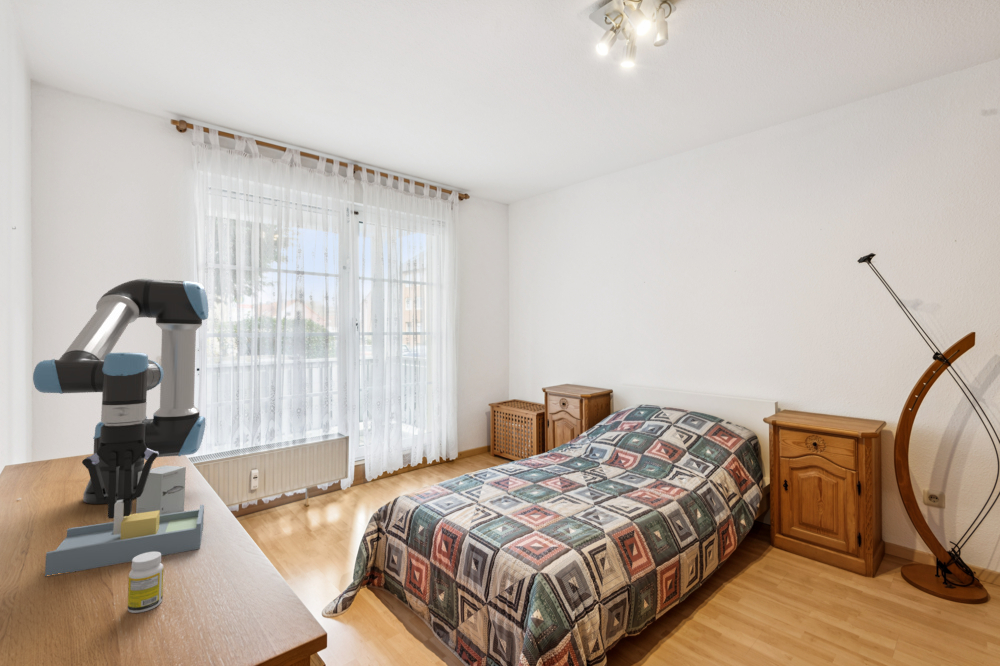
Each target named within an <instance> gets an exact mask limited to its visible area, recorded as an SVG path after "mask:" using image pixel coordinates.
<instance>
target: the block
mask: <svg viewBox="0 0 1000 666" xmlns="http://www.w3.org/2000/svg"><path fill="white" fill-rule="evenodd" d="M159 518H160V510H158V511H151V512H144V513H136V512H135V513H131V514H130V515H129V516H125V518H124V519H123V521H122V522H121V537H120V540H123V539H129V538H135V537H141V536H147V535H153V534H157V532H158V529H159Z"/></svg>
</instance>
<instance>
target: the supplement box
mask: <svg viewBox="0 0 1000 666" xmlns="http://www.w3.org/2000/svg"><path fill="white" fill-rule="evenodd" d="M186 468H187V467H186V466H178V465H161V466H158V467H157V466H156V467H153V468H151V470H150V473H149V476H148V479H147V482H146V485H145V488H144V491H143V493H142V495H141V496H140V497H138V498H136V506H135V507H136V509H135V510H136V511H135V514H136V513H144V512H151V511H158V510H160V515H164V514H170V513H177V512H184V511H185V493H186V472H187V471H186V470H187V469H186ZM141 473H142V471H141V472H138V482H139V479H140V476H141Z"/></svg>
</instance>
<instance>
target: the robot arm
mask: <svg viewBox="0 0 1000 666" xmlns="http://www.w3.org/2000/svg"><path fill="white" fill-rule="evenodd" d="M204 287H205V286H203V285H202V284H201V283H199V282H194V281H188V280H187V281H186V280H169V279H166V280H165V279H152V278H138V279H134V280H128V281H126V282H124V283H121V284H118V285H117V286H115V287H113V288H110V290H108V291H107V292H105V293H104V294H103V295H102V296H100V298H99V300H98V301H96V305H95V308H96V309H95V310H96V311H95V312H94V314H93V315H92V316H91V318H90V319H89V320H88V322H87V323H85V325H84V326H83V328H82V329H81V330H80V332H79V333H78V335H77V336H76V337H75V338H74V340H73V341H72V342H71V344H70V345H69V346H68V348H67V349H65V351H64V353H63V354H62V355H61V356H60V358H59V359H55V358H53V359H47V360H45V359H44V360H42V361H41V360H40V361H39V362H38V363H37V364H36V366H35V367H34V370H33V373H32V382H33V385H34V387H35V389H36V390H37V391H38V392H40V393H43V394H63V395H64V394H80V393H81V394H83V393H87V394H88V393H102V397H101V411H100V413H101V415H100V416H101V417H100V421H99V422H98V423H96V425H95V430H94V436H93V438H92V439H93V454H92V455H90V456H89V455H88V456H86V457H85V458H84V459H82V465H83V466H84V467H85V468H86V469H87V470H88V474H89V480H88V482H87V484H86V487H85V489H84V492H83V499H82V500H83V503H85V504H91V505H92V504H93V505H97V504H98V505H102V504H107V518H108V519H109V520H110V519H113V522H114V528H113V535H116V534H121V522H122V521H123V519H124V518H125V516H129V515H130V514H132V511H133V510H132V509H133V500H134V499H137V498H138V497H140V496H141V495H142V493H143V491H144V488H145V485H146V482H147V479H148V476H149V473H150V470H151V469H152V467H153V463H154V462H155V460H156V459H157V458H165V457H181V456H189V455H194V454H196V453H198V451H199V450H200V448H201V445H202V442H203V439H204V435H205V430H206V429H205V428H206V417H205V416H202V415H201V416H200V409H198V408H197V407H196V406H195V383H196V382H195V378H196V377H195V376H196V375H195V373H196V346H197V345H196V344H197V340H196V339H197V330H198V329H199V328H200V327H202V326H203V321H205V320H207V319H208V318H209V301H208V296H207V292H206V290H205V288H204ZM138 318H150V319H155V324H156V326H158V327H159V328H160V329H161V347H160V348H161V349H160V350H161V353H160V354H161V355H160V363H158V362H156V361H154V360H152V359H149V356H148V354H146V353H145V352H112V351H113V349H114V347H115V346H116V344H117V343H118V341H119V340H120V338H121V336H122V335H123V334H124V331H126V329H127V328H128V325H130V324H132V323H134V322H136V321H137V319H138ZM159 385H160V386H159ZM157 386H159V387H160V389H159V390H160V393H159V407H158V408H159V409H157V410H155V412H154V413H153V416H152V417H153V418H148V416H147V398H148V397H147V394H148V391H149V390H151V391H152V390H153V389H155V388H156V387H157ZM145 460H146V461H145ZM141 471H142V473H141V476H140V479H139V482H138V472H141Z"/></svg>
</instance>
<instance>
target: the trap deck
mask: <svg viewBox="0 0 1000 666" xmlns="http://www.w3.org/2000/svg"><path fill="white" fill-rule="evenodd" d="M204 512H205V504H200V505H199V509H191V510H186V511H185V510H184V512H177V513H170V514H164V515H160V518H159V529H158V532H157V534H153V535H147V536H141V537H135V538H129V539H123V540H120V537H121V534H116V535H113V528H114V521H109V522H104V523H103V522H101V523H97V524H90V525H82V526H77V527H75V526H74V527H69V528H67V529H66V536H65V538H64V539H63V541H61V542H60V544H59V546H57V548H55V550H50V551H47V552H46V553H45V566H44V567H45V568H44V569H45V571H44V577H45V576H47V575H52V574H58V573H65V574H67V573H66V572H70V573H74V572H75V571H76V572H79V571H86V570H91V569H97V568H101V567H108V566H112V565H118V564H124V563H129V562H132V559H133V558H134V557H136V556H138V555H140V554H143V553H147V552H160V553H161V557H162V556H167V555H168V556H169V555H172V554H173V555H174V554H177V553H184V552H188V551H195V550H199V549H201V546H202V545H201V544H202V543H201V542H202V537H203V532H202V531H204V514H205V513H204Z"/></svg>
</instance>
